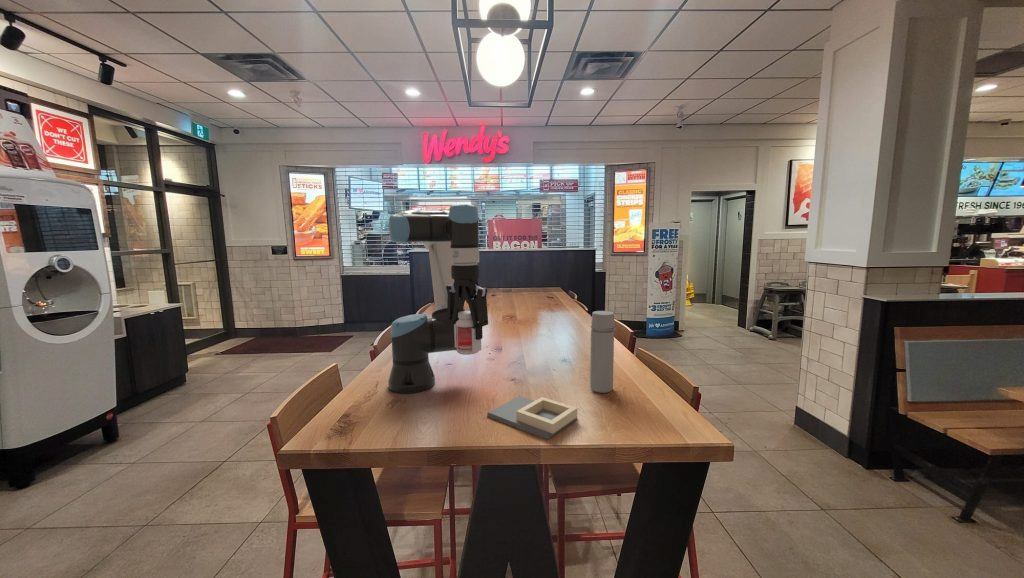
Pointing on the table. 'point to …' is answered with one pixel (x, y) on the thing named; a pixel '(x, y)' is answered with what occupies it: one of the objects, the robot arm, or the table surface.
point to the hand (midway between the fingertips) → (468, 348)
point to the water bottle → (602, 351)
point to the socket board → (535, 415)
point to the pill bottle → (464, 333)
